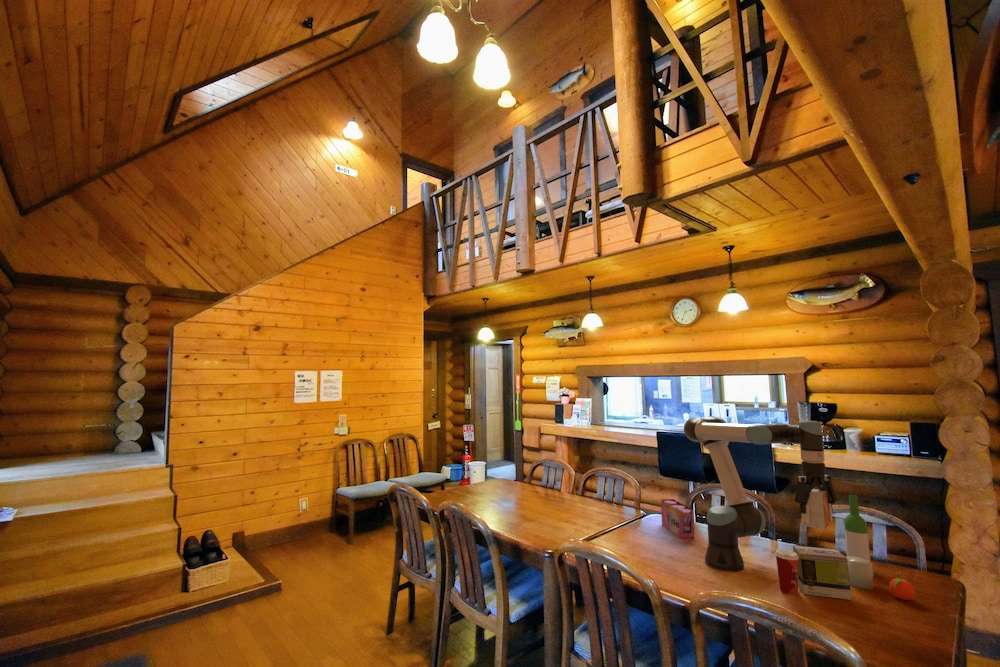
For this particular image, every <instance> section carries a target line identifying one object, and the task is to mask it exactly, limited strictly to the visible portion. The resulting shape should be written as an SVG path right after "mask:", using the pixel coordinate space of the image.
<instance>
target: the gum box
mask: <svg viewBox="0 0 1000 667" xmlns="http://www.w3.org/2000/svg"><path fill="white" fill-rule="evenodd" d="M660 507H661V511H660V512H661V525H662V526H664V528H666V527H667V529H668V530H669V531H670V532H672V533H673V534H674V533H675V535H676V536H677V537H679V539H681V538H682V539H688V538H691V537H694V538H695V520H694V509H692V508H691V507H688V506H686V505H685V504H683V503H682V502H679V501H677V500H676V499H673V498H670V499H668V498H667V499H665V498H664V499H660ZM691 539H692V538H691Z"/></svg>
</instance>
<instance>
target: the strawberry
mask: <svg viewBox="0 0 1000 667" xmlns="http://www.w3.org/2000/svg"><path fill="white" fill-rule="evenodd" d="M889 590H890V592H891V593H892V594H893V596H895V597H896V598H898V599H900V600H903V601H910V600H912V599H913V598H914V596H915V595H916V592H915V588H914V587H913V585H912V583H911V582H909V581H907V580H906V579H904V578H900V577H899V578H898V577H896V578H893V579H891V581H890V582H889Z"/></svg>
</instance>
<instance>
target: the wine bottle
mask: <svg viewBox="0 0 1000 667" xmlns="http://www.w3.org/2000/svg"><path fill="white" fill-rule="evenodd" d="M858 501H859V499H858V496H857V495H855V494H848V502H849V503H848V504H849V514H848V515H847V516H845V518H844V523H843V525H844V535H845V536H844V537H845V538H844V540H845V548H846V549H845V551H846V552H845V553H846V557H847V556H852V557H859V558H863V559H866V560H868V561H870V562H871V555H870V546H869V545H870V544H869V533H868V524H867V522H866V520H865V519H864V517H862V516H861V515H860V511H859V509H860V508H859V502H858Z"/></svg>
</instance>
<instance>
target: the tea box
mask: <svg viewBox="0 0 1000 667" xmlns="http://www.w3.org/2000/svg"><path fill="white" fill-rule="evenodd" d="M792 551H793V552H795V553H796V554H797V556H798V557H799V559H798V589H800V590H801V592H802V593H803V594H804V595H808V596H809V595H810V596H816V597H817V596H818V597H825V598H834V599H840V600H847V601H852V600H853V599H852V590H851V585H850V579H849V570H848V562H847V558H846V557H847V556H845V555H844V554H842V553H841V552H840V551H839V550H838V549H836V548H823V547H817V546H816V547H815V546H802V545H792Z"/></svg>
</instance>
